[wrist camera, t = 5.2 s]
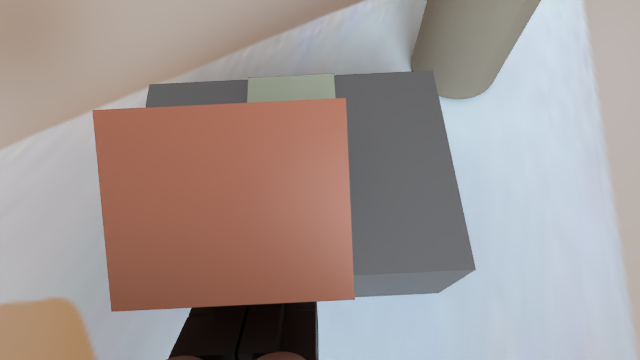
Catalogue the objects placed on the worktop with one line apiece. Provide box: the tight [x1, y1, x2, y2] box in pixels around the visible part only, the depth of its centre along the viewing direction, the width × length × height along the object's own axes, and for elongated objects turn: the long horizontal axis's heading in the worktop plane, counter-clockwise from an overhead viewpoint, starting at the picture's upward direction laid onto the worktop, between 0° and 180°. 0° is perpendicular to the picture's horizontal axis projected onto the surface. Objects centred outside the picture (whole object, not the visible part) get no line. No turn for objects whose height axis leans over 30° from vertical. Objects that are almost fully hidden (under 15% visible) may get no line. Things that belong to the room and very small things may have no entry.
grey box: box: [146, 71, 476, 297], centre depth 27 cm, size 20×14×10 cm
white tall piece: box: [93, 98, 355, 311], centre depth 15 cm, size 4×4×16 cm
